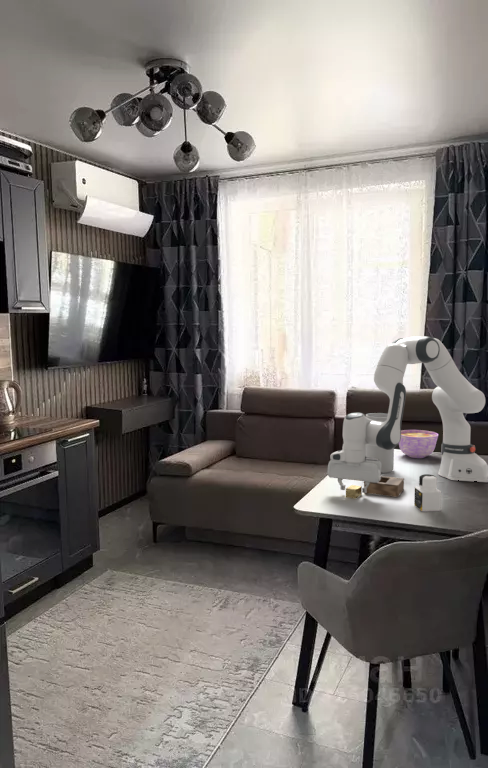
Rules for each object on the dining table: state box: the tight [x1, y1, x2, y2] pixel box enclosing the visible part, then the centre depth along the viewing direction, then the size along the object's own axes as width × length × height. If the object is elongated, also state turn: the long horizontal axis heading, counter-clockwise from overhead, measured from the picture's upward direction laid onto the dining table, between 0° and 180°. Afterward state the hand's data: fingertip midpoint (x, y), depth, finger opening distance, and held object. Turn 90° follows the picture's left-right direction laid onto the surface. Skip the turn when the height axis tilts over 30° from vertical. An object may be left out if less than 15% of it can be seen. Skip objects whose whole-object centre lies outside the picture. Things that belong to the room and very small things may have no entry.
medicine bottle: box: [413, 474, 442, 513], centre depth 208 cm, size 7×7×12 cm
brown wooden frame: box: [363, 475, 405, 498], centre depth 229 cm, size 13×11×5 cm
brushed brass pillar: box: [345, 484, 363, 500], centre depth 224 cm, size 4×6×4 cm, turn 147°
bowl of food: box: [398, 429, 439, 459], centre depth 289 cm, size 20×20×12 cm
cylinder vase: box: [365, 412, 395, 474], centre depth 262 cm, size 12×12×25 cm
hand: (353, 491), depth 224 cm, fingers open, 7 cm apart
